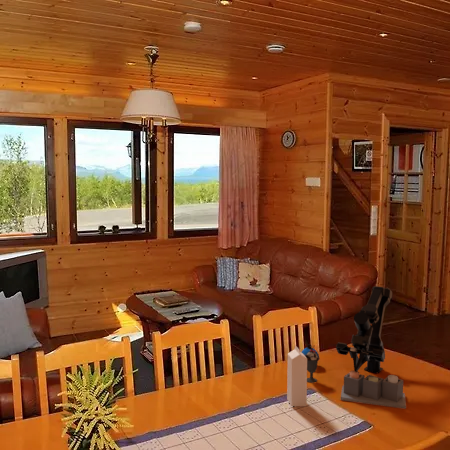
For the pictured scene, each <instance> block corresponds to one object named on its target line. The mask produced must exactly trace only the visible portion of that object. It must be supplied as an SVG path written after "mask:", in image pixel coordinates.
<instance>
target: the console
mask: <svg viewBox="0 0 450 450" xmlns="http://www.w3.org/2000/svg"><path fill="white" fill-rule="evenodd" d="M371 376H372V377H377V378H378V382H373V381H369V380H368V378H369V377H371ZM340 392H341V393H340V401H343V402H344V401H345V402H353V403H360V404H368V405H375V406H382V407H383V406H384V407H390V408H397V409H407V404H406V403H407V401H406V394H405V392H404V379H401V378H398V383H397V384H395V383H391V382H388V376H387V377H385V378H383V377H379V376H376V375H372V374H368V375H367V376H365V375H364V374H360V373H359V378H358V379H355V378H351V377H350V372H348V373H346V374H345V375H344V376H343V385H342V387H341V391H340Z"/></svg>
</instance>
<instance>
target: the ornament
mask: <svg viewBox="0 0 450 450" xmlns="http://www.w3.org/2000/svg"><path fill="white" fill-rule="evenodd" d="M314 349H315V347H314V348H313V346H312V345H311V344H310V343H309V344H308V345H307V347H305V348H304V349H302V350H301V352H302V353H303V354H304V355H307V353H308V352H309V351H310V350H313V351H314ZM315 351H316V352H315V353H316V354H317V356H318V357H319V358H320V354H319V353H318V351H317V350H316V349H315Z"/></svg>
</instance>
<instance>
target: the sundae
mask: <svg viewBox="0 0 450 450" xmlns="http://www.w3.org/2000/svg"><path fill="white" fill-rule="evenodd" d="M312 348H314V351H313V350H310V351H309V352H308V353H307V355H305V356H306V358H307V373H308V372H309V377H307V383H311V384H314V383H317V382H318V379H316V378H315V377H314V373H315V372H316V371H317V368H318V362H319V361H320V356H319V357H318V356H317V354H316V353H315V352H316V351H317V350H316V348H315V345H313V346H312ZM315 350H316V351H315Z"/></svg>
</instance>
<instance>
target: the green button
mask: <svg viewBox="0 0 450 450" xmlns="http://www.w3.org/2000/svg"><path fill="white" fill-rule="evenodd" d="M372 376H373V375H372ZM372 376H371V377H369V378H368V380H369V381H373V382H378V378H377V377H378V376H376V377H372Z"/></svg>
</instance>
